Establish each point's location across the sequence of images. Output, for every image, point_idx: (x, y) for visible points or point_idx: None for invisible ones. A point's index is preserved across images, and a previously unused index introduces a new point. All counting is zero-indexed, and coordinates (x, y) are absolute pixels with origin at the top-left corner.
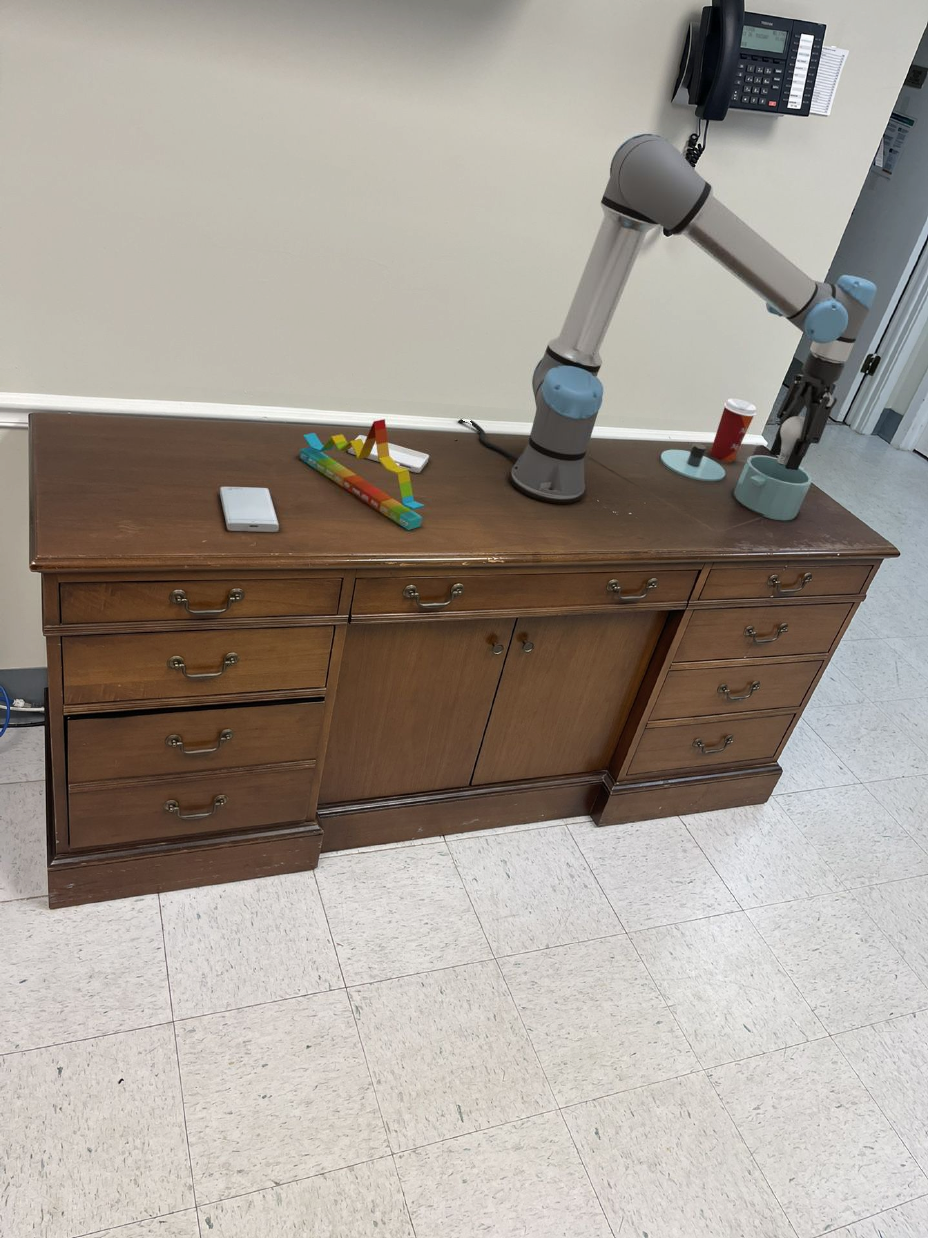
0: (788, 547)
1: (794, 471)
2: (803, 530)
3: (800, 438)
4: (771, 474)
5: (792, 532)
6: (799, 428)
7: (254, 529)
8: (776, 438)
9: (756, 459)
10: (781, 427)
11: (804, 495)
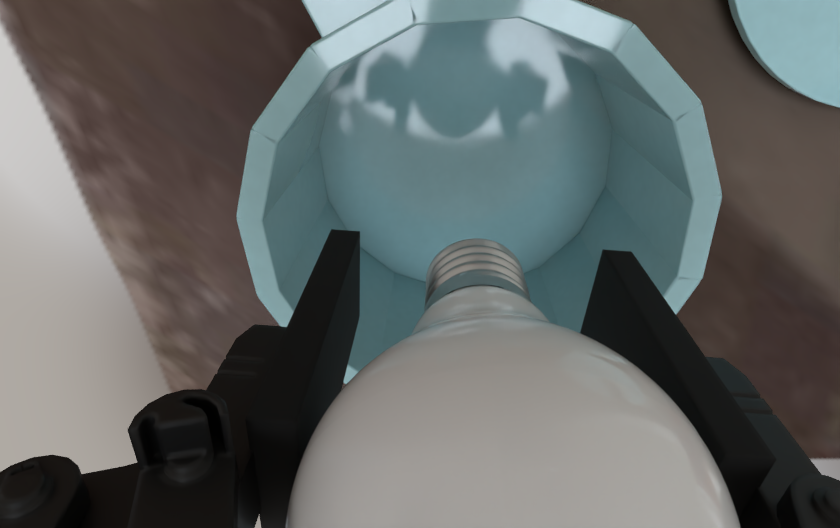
0: (10, 16)
1: None
2: (233, 217)
3: (233, 453)
4: None
5: (194, 145)
6: None
7: None
8: (669, 335)
9: (681, 185)
10: (629, 388)
11: None
